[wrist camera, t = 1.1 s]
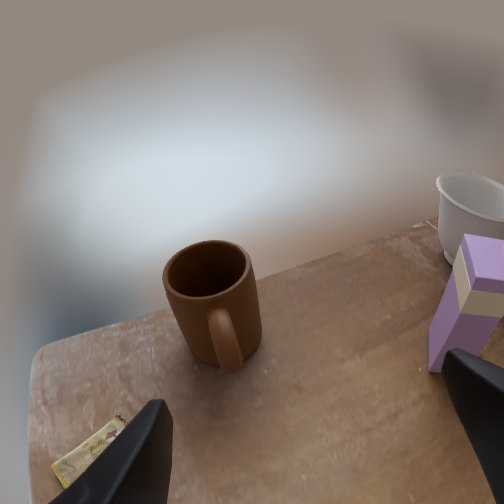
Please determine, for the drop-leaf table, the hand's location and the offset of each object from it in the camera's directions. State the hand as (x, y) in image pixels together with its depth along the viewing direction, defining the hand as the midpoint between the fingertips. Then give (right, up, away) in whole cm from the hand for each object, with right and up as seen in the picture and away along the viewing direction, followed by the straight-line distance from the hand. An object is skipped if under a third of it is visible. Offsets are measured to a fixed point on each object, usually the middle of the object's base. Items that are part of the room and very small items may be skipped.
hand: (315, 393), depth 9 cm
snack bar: (-15, -15, +12) cm, 24 cm away
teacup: (+27, +2, +26) cm, 37 cm away
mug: (-4, -6, +21) cm, 22 cm away
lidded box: (+17, -6, +17) cm, 25 cm away
